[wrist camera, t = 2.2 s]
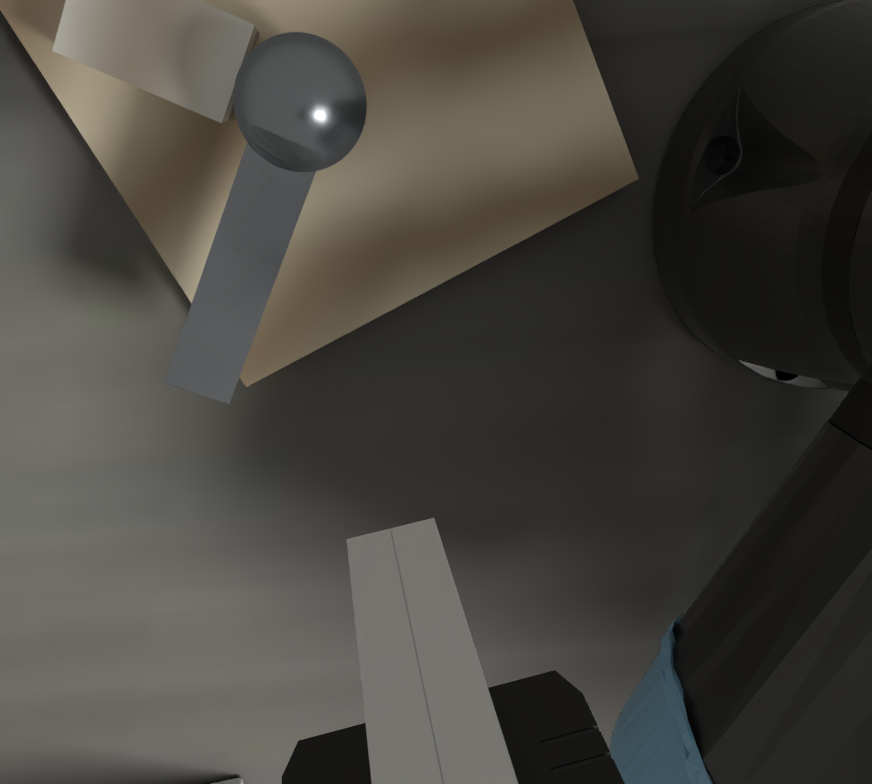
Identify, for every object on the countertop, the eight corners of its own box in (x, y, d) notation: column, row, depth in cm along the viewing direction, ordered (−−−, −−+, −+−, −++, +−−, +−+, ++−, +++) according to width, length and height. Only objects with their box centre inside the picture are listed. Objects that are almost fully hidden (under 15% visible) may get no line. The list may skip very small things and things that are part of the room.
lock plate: (624, 175, 31) (716, 197, 24) (248, 374, 32) (233, 452, 25) (463, -250, 25) (524, -380, 18) (7, 0, 26) (-101, -35, 19)
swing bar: (263, 16, 23) (259, 7, 20) (378, 70, 24) (386, 68, 21) (152, 349, 26) (137, 374, 23) (258, 385, 27) (254, 412, 24)
